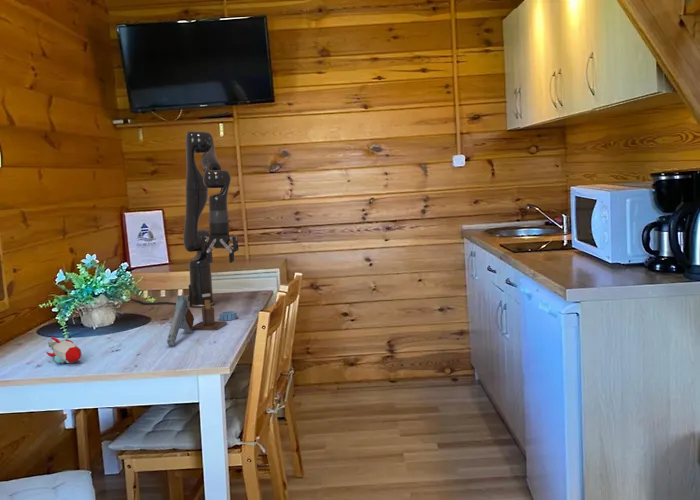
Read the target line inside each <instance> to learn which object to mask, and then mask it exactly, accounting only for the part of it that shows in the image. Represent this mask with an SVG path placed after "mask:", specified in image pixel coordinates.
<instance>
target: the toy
mask: <svg viewBox="0 0 700 500" xmlns="http://www.w3.org/2000/svg"><path fill="white" fill-rule="evenodd" d="M50 339H51V340H53V341H48V342H47V344H48V348H50V349H51V350H52V352H49V351H45V354H46V355H47V356H48V357H52V358H53V361H54V362H55V363H56V364H65V363H66V364H69V363H70V364H73V363H76V362H78V361H79V360H80V359H81V357H82V349H80V347H79V346H78V345H76V344H75V343H74V341H72V340H70V339H67V338H66V339H64V340H60V339H59V338H56V337H54V336H51V337H50Z"/></svg>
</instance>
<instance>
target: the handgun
mask: <svg viewBox="0 0 700 500" xmlns="http://www.w3.org/2000/svg"><path fill="white" fill-rule="evenodd" d="M175 303H176V305H175V309H174V315H173V318H172V321H171V325H170V329H169V332H168V336H167V339H166V343H167V345H168V346H169V347H175V344H176V341H177V337H178V334H179V330H180V329H182V330H183V334H192V331H193V330H192V328H193V326H194V325H195V324H194V323H195V322H194V321H195V317H194V314H193V313H192V311H191V309H190V308H189V307H190V306H189V304H188V303H189V302H188V297H187V296H185V293H183V292H182V293H181V295H178V296H177V298H176V302H175Z"/></svg>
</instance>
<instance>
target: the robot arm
mask: <svg viewBox="0 0 700 500" xmlns="http://www.w3.org/2000/svg"><path fill="white" fill-rule="evenodd" d="M195 154H203V155H202V156H201V158H200V166H201V169H202V171H203V173H202V172H201V170H200V168H199V166H198V165H197V161H196V157H195ZM185 163H186V165H185V166H186V175H185V178H186V179H185V214H184V216H185V217H184V226H183V237H182V241H183V246H184V249H185V250H186V251H187V252H189V253H195V252H196V253H195V255H194V257H193V258H191V259H190V260H189V261H188V268H189V271H188V272H189V284H188V296H187V298H188V303H189V307H193V308H205V300H210V306H211V307H212V306H213V305H214V297H213V296H214V294H213V281H212V280H213V279H212V265H211V264H212V263H213V251H214V249H215V248H225V249H226V250H227V251H228V261H229V263H230V264H232V263H233V262H235V253H236V252H238V251H239V249H240V248H239V240H238V235H234V236H230V219H229V211H228V195H229V189H230V185H231V181H232V176H231V174H230V172H229V171H228V170H227V169H222V166H221V163H220V161H219V159H218V155H217V152H216V146H215V141H214V137H213V135H212V134H211V133H210V132H209V131H201V130H188V131H187V132H186V134H185ZM209 189H220V191H219V192H218V193H214V194H210V195H209ZM207 204H208V210H209V211H208V225H209V226H208V227H209V228H208V229H209V230H207V229H204V228H202V229H199V228H198V227H199V220H200V218H201V215H202V213H203V211H204V209H205V208H206V206H207ZM230 242H232V245H231V244H230ZM130 299H131V300H129V301H130V302H131V301H132V302H134V303H140V304H143V305H165V304H168V305H175V306H176V302H170V301H157V302H155V301H153V302H144V301H142V300H138V299H134V298H130Z"/></svg>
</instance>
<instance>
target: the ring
mask: <svg viewBox="0 0 700 500" xmlns="http://www.w3.org/2000/svg"><path fill="white" fill-rule="evenodd" d="M237 317H238V316H237V311H235V310H226V311H225V310H224V311H220V312H219V321H226V322H228V321H234V320H236V319H238V318H237Z"/></svg>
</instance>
